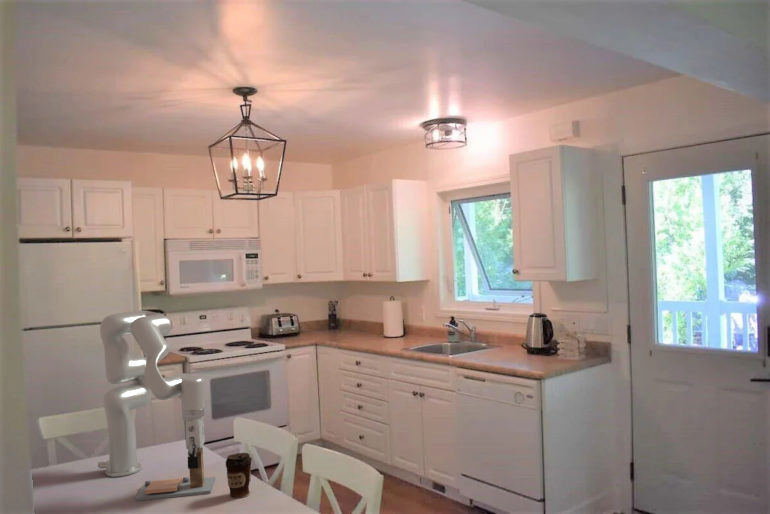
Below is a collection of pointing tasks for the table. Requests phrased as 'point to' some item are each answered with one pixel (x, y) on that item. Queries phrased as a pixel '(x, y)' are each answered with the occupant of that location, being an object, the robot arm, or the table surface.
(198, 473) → the walnut block
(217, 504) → the table surface
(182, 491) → the board
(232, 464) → the coffee cup
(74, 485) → the table surface
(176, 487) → the tile
